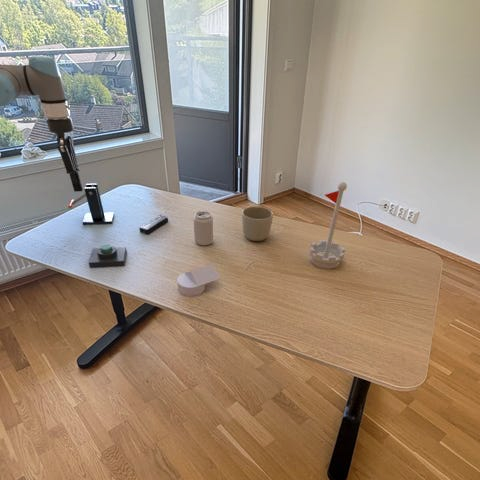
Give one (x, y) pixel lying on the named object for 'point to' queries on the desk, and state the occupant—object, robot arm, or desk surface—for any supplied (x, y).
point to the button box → (108, 257)
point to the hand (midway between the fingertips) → (78, 190)
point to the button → (106, 248)
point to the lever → (77, 200)
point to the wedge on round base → (196, 280)
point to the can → (203, 228)
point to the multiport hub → (153, 224)
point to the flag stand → (329, 238)
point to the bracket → (95, 208)
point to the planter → (256, 222)
